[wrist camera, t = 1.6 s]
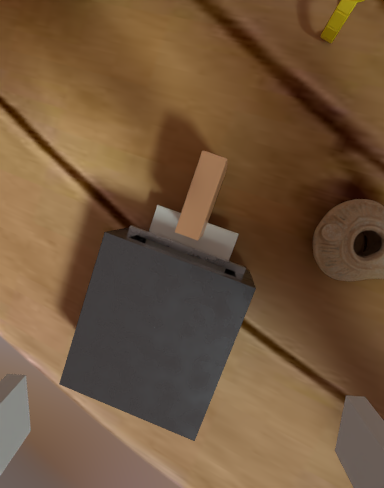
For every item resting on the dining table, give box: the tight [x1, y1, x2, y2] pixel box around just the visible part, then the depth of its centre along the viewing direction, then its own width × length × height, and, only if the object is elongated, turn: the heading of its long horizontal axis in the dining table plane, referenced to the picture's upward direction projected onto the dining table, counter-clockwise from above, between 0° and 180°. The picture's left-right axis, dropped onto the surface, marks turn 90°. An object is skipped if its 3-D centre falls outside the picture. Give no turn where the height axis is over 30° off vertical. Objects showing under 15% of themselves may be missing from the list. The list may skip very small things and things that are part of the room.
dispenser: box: [60, 225, 256, 441], centre depth 33 cm, size 16×19×8 cm
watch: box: [321, 0, 364, 43], centre depth 28 cm, size 6×3×6 cm, turn 149°
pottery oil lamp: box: [313, 199, 384, 281], centre depth 30 cm, size 9×12×7 cm
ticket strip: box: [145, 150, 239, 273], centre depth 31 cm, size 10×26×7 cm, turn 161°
